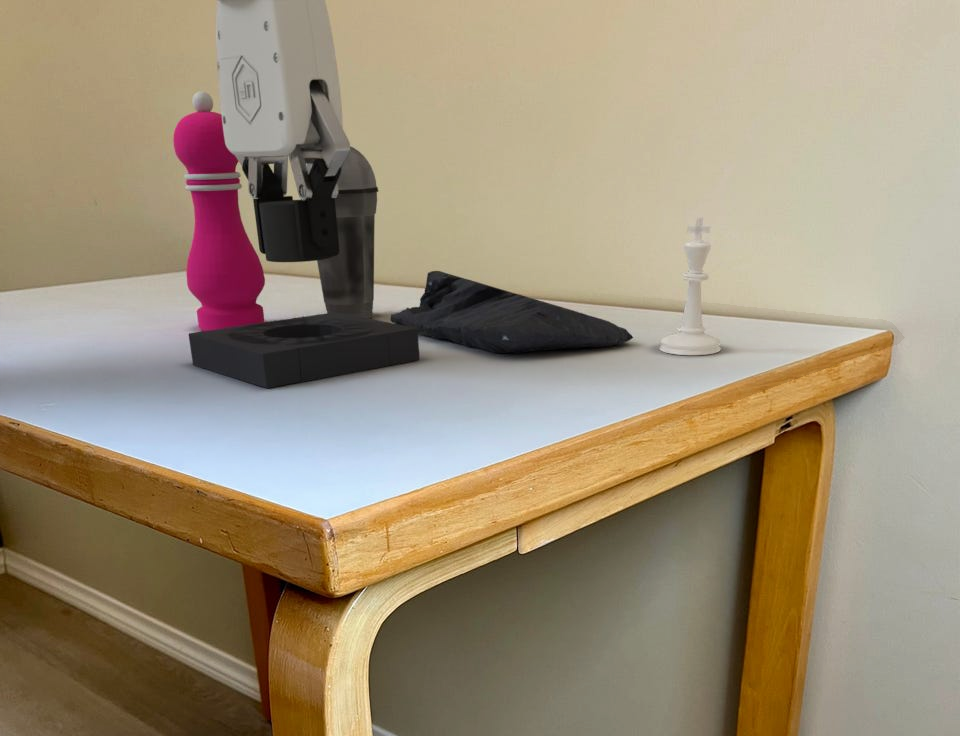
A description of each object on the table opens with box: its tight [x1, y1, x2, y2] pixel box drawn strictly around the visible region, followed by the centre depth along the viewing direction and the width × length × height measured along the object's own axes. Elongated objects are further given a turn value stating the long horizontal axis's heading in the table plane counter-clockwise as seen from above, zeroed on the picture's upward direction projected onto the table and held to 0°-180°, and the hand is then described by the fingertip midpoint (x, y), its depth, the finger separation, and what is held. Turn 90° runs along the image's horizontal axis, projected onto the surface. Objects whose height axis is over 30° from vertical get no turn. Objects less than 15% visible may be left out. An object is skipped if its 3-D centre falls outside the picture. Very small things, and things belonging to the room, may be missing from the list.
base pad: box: [188, 312, 420, 389], centre depth 81 cm, size 14×12×2 cm
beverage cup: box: [306, 145, 379, 319], centre depth 96 cm, size 7×7×20 cm
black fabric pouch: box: [389, 270, 634, 354], centre depth 89 cm, size 15×22×5 cm
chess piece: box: [659, 216, 722, 356], centre depth 80 cm, size 5×5×10 cm
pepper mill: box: [172, 90, 266, 331], centre depth 93 cm, size 7×7×20 cm
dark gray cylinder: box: [259, 199, 334, 263], centre depth 77 cm, size 5×5×4 cm
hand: (299, 252), depth 78 cm, fingers closed on dark gray cylinder, 5 cm apart
